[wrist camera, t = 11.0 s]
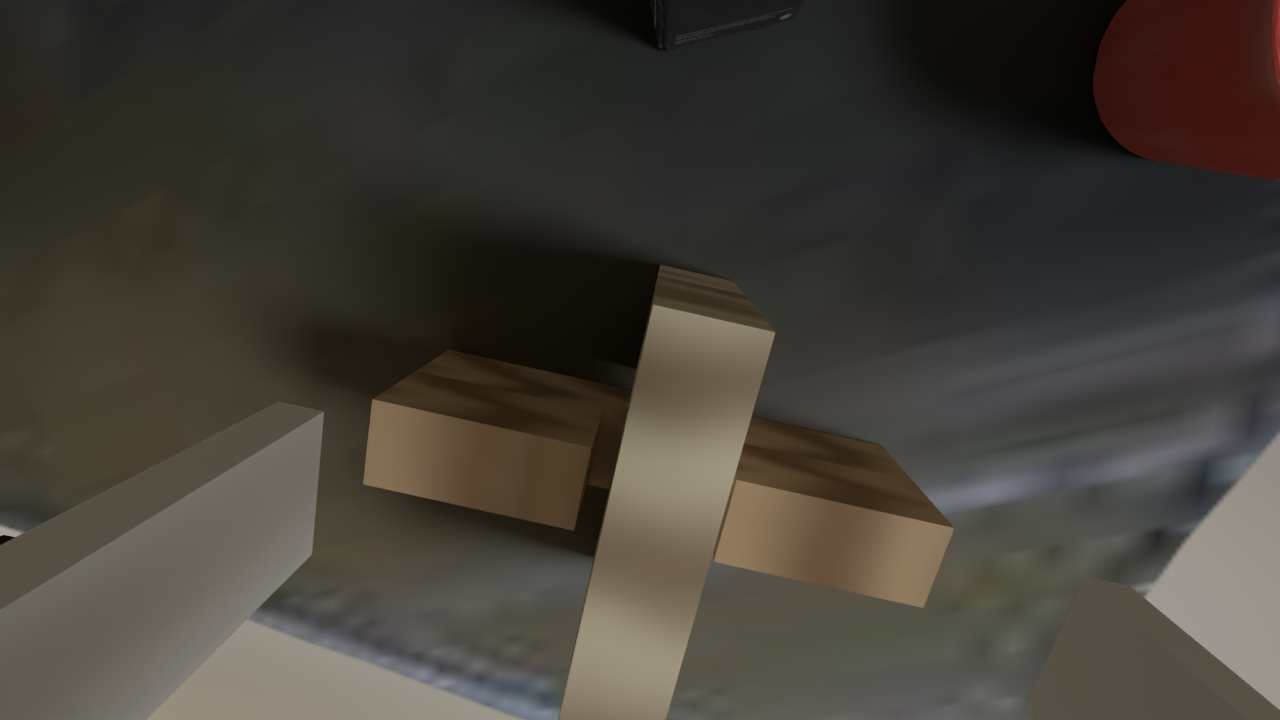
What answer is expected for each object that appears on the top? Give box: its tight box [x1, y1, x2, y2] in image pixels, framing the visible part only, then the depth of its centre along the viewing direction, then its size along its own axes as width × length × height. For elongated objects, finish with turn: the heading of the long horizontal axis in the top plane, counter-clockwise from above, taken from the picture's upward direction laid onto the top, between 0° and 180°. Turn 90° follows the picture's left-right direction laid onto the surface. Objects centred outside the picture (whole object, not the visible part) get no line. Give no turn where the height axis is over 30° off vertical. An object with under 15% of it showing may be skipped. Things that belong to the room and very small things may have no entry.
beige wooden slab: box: [558, 265, 775, 720], centre depth 25 cm, size 16×4×12 cm, turn 168°
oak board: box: [363, 350, 954, 608], centre depth 27 cm, size 22×4×8 cm, turn 78°
